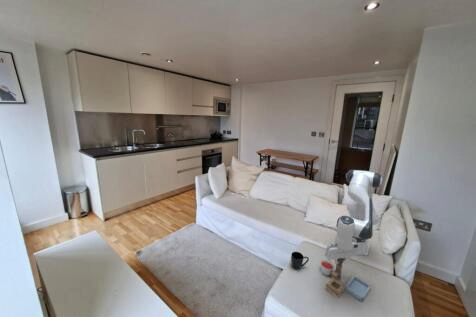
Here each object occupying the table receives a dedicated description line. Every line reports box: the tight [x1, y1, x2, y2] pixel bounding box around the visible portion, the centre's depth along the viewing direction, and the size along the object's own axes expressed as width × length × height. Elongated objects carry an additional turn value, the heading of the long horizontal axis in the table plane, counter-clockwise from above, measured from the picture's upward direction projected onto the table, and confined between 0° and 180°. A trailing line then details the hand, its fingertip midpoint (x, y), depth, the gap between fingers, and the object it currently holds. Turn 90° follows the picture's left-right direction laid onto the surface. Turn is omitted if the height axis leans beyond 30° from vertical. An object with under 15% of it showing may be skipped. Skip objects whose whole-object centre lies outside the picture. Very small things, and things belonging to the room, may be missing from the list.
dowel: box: [335, 258, 344, 274], centre depth 119 cm, size 3×3×10 cm
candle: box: [320, 259, 336, 276], centre depth 137 cm, size 9×9×6 cm
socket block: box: [324, 277, 346, 299], centre depth 123 cm, size 8×8×4 cm
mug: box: [290, 251, 309, 271], centre depth 140 cm, size 8×12×10 cm
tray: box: [344, 274, 372, 303], centre depth 124 cm, size 14×10×3 cm
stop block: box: [330, 268, 342, 281], centre depth 132 cm, size 8×3×5 cm, turn 129°
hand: (339, 262), depth 118 cm, fingers closed on dowel, 3 cm apart
